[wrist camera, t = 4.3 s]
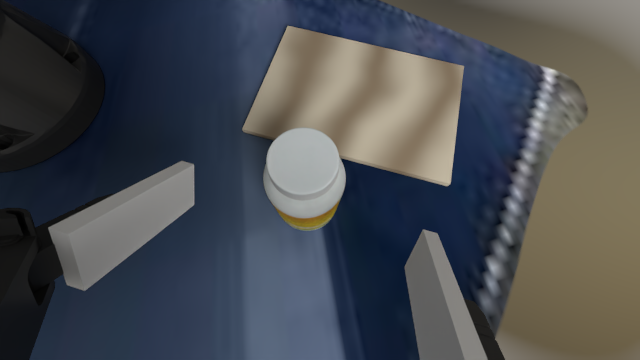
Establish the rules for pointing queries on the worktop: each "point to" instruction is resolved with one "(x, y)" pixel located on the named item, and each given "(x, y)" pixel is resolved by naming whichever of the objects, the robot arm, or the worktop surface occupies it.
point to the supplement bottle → (304, 178)
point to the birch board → (363, 102)
